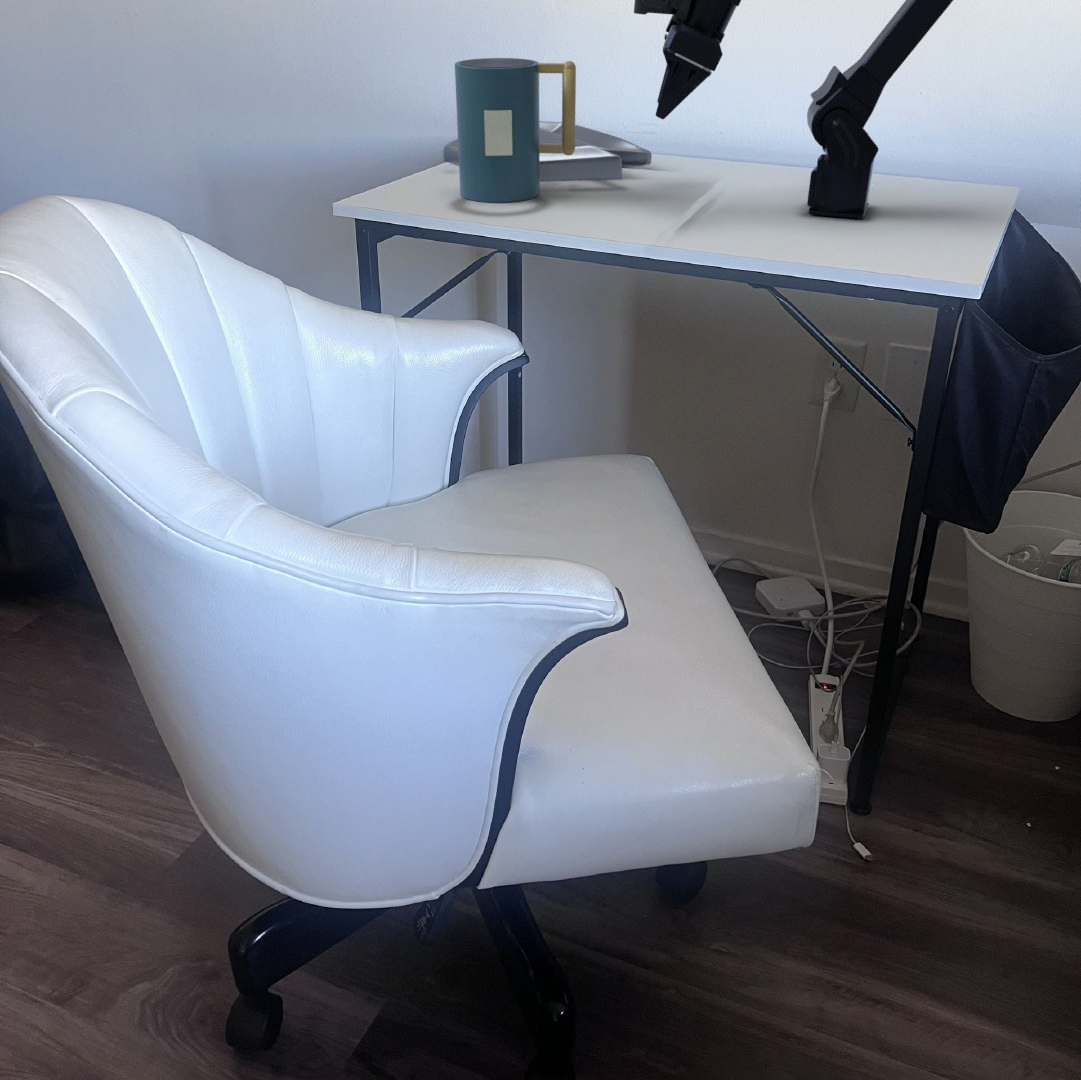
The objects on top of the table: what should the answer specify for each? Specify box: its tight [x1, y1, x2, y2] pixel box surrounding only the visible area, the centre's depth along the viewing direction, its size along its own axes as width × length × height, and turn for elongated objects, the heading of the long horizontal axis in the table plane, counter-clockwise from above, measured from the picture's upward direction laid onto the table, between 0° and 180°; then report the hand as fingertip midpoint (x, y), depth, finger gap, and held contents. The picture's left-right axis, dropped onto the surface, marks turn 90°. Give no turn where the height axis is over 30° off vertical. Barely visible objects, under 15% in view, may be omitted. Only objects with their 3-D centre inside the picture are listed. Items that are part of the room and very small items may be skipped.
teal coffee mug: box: [454, 57, 577, 204], centre depth 125 cm, size 14×10×15 cm
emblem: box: [442, 120, 653, 182], centre depth 146 cm, size 28×5×28 cm
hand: (660, 110), depth 124 cm, fingers open, 9 cm apart
